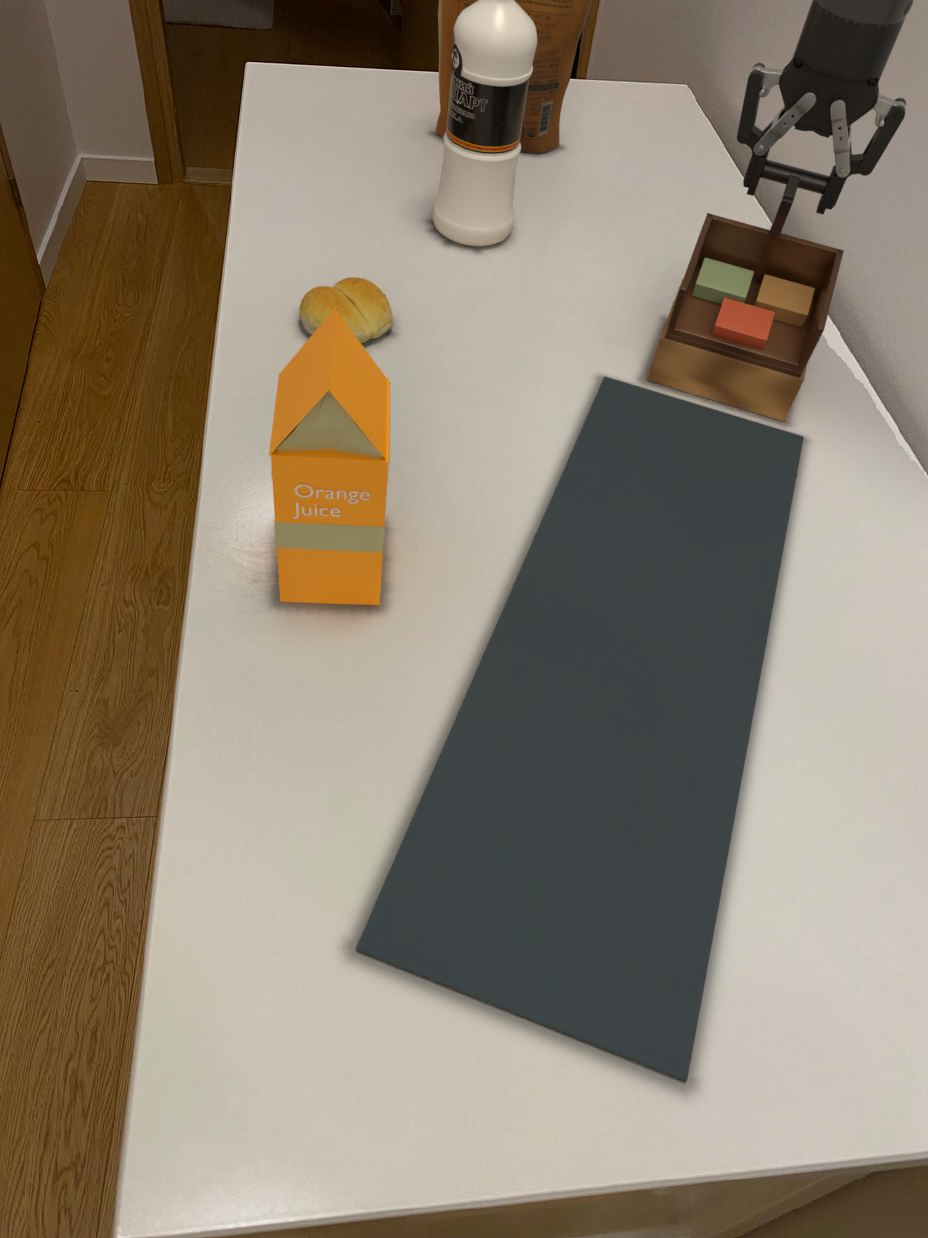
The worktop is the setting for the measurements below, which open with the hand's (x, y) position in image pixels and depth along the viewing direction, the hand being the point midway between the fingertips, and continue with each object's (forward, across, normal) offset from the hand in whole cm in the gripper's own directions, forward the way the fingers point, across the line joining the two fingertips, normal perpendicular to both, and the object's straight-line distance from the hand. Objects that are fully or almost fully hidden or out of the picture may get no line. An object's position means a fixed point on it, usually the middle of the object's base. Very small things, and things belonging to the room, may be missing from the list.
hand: (785, 200), depth 90 cm
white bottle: (+15, +32, -6) cm, 36 cm away
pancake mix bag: (+15, +36, -28) cm, 48 cm away
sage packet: (+8, +3, +5) cm, 10 cm away
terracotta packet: (+9, 0, +10) cm, 13 cm away
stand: (+15, 0, +7) cm, 16 cm away
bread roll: (+15, +37, +18) cm, 44 cm away
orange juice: (+14, +25, +48) cm, 56 cm away
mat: (+14, +1, +45) cm, 47 cm away
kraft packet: (+8, -3, +5) cm, 10 cm away
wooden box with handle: (+8, 0, +5) cm, 10 cm away
